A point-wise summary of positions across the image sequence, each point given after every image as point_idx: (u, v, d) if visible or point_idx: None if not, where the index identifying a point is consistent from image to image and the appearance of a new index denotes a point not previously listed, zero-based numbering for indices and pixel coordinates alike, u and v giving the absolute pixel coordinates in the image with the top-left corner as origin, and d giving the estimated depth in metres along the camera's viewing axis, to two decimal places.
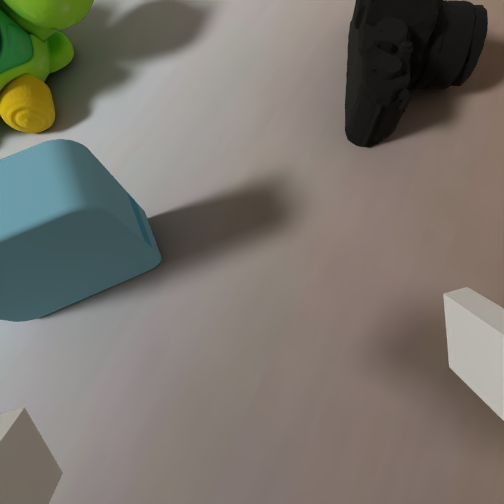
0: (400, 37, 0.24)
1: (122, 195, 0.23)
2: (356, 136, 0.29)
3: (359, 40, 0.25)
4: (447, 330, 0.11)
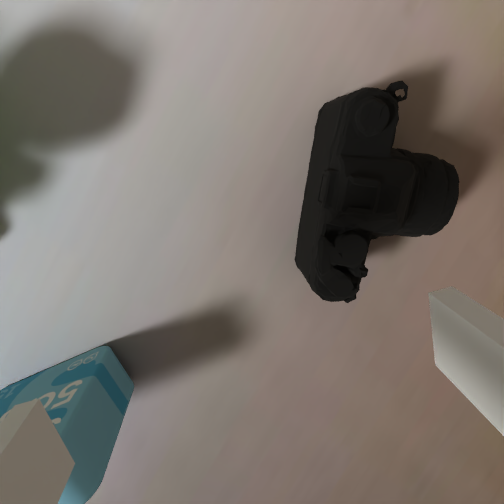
0: (357, 262, 0.23)
1: (97, 401, 0.25)
2: None
3: (317, 254, 0.23)
4: (433, 328, 0.11)
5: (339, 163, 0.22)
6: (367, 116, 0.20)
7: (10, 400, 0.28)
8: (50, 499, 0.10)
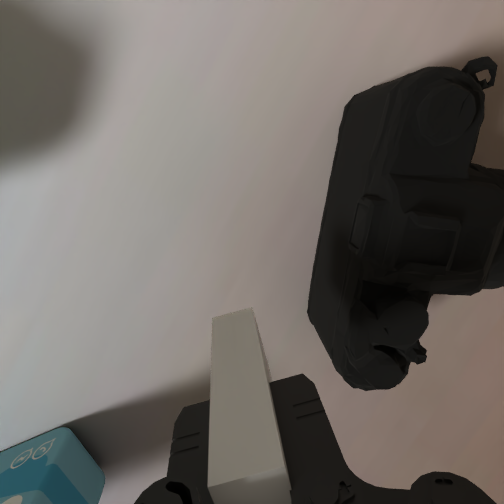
0: (412, 341, 0.15)
1: None
2: None
3: (348, 328, 0.15)
4: None
5: (388, 188, 0.13)
6: (439, 113, 0.12)
7: None
8: None
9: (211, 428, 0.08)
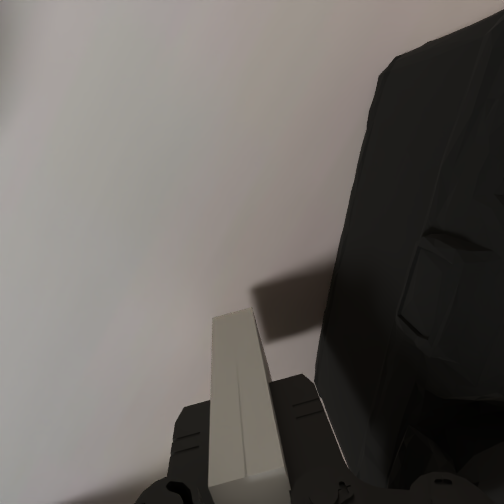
0: None
1: None
2: None
3: (398, 479, 0.08)
4: None
5: (494, 226, 0.06)
6: None
7: None
8: None
9: (212, 428, 0.08)
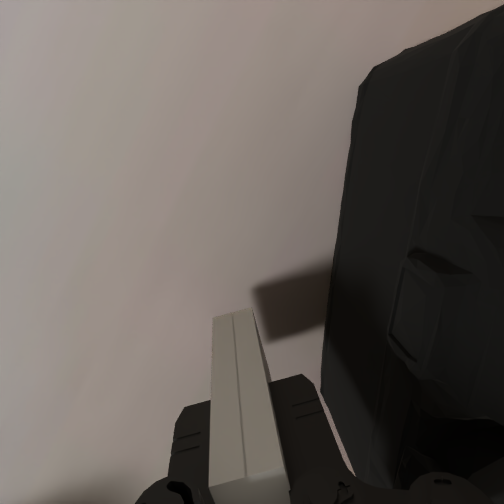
0: None
1: None
2: None
3: None
4: None
5: (472, 249, 0.06)
6: None
7: None
8: None
9: (212, 428, 0.08)
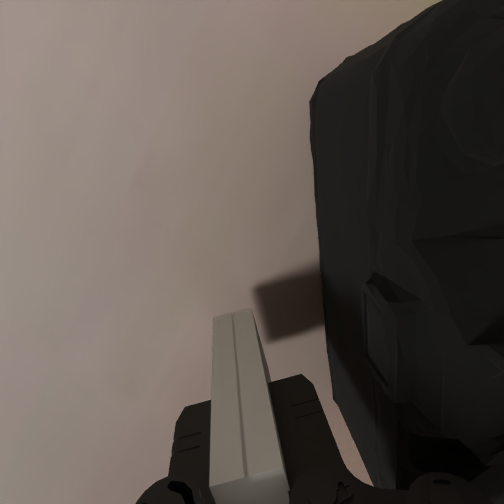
0: None
1: None
2: None
3: None
4: None
5: (417, 275, 0.06)
6: (498, 101, 0.05)
7: None
8: None
9: (213, 428, 0.08)
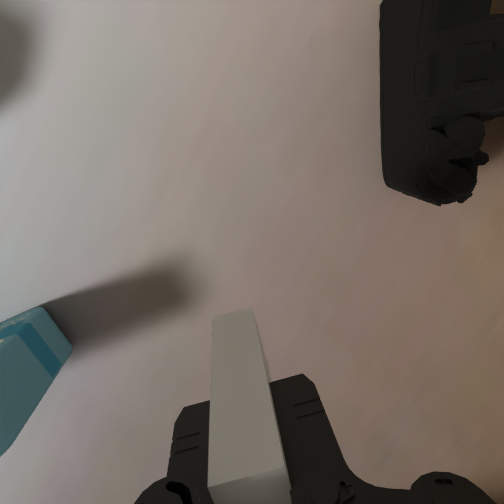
0: (475, 148, 0.21)
1: (17, 361, 0.24)
2: (398, 190, 0.28)
3: (428, 152, 0.21)
4: None
5: (436, 41, 0.19)
6: None
7: None
8: None
9: (211, 428, 0.08)
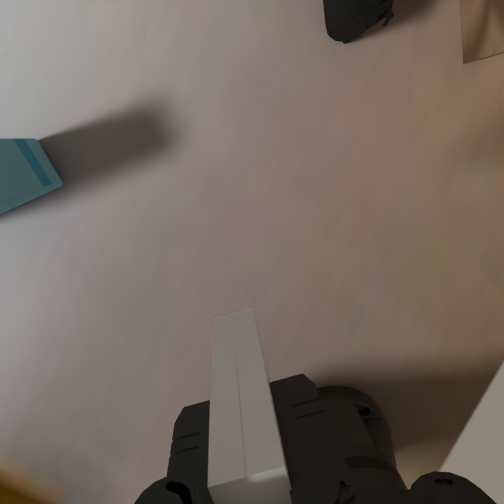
0: None
1: (12, 154, 0.27)
2: (338, 37, 0.31)
3: None
4: None
5: None
6: None
7: None
8: None
9: (211, 428, 0.08)
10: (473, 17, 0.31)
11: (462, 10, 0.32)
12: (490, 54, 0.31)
